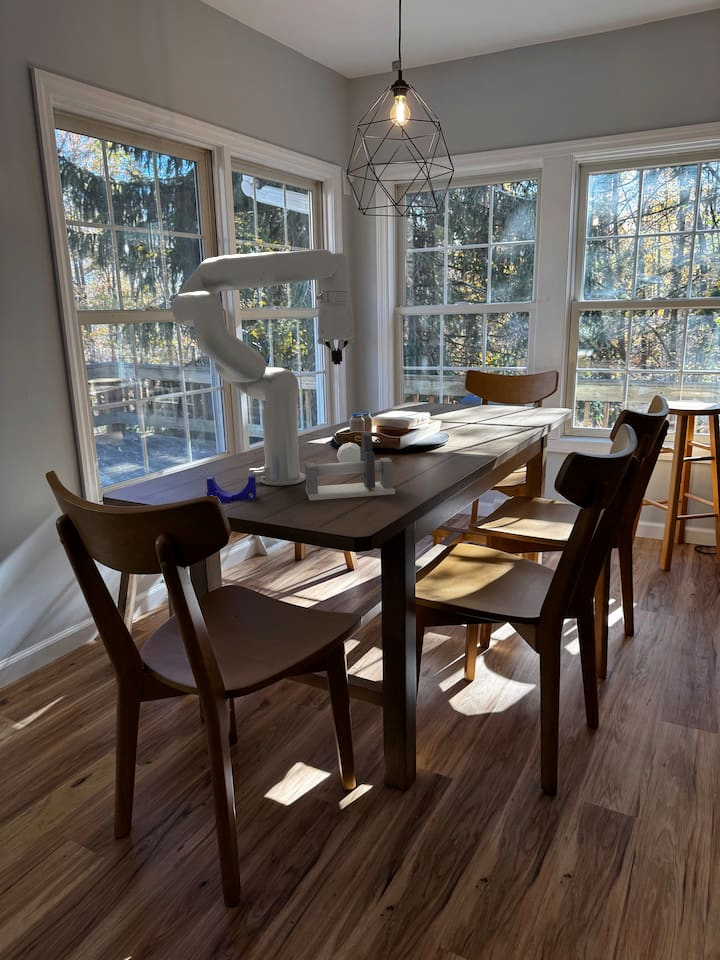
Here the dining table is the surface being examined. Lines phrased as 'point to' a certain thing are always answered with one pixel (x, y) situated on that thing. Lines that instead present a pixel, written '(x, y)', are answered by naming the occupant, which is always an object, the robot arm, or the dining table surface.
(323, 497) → the pipe stand
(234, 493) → the blue pipe cradle
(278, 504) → the dining table surface
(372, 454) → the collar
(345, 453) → the geometric ball
